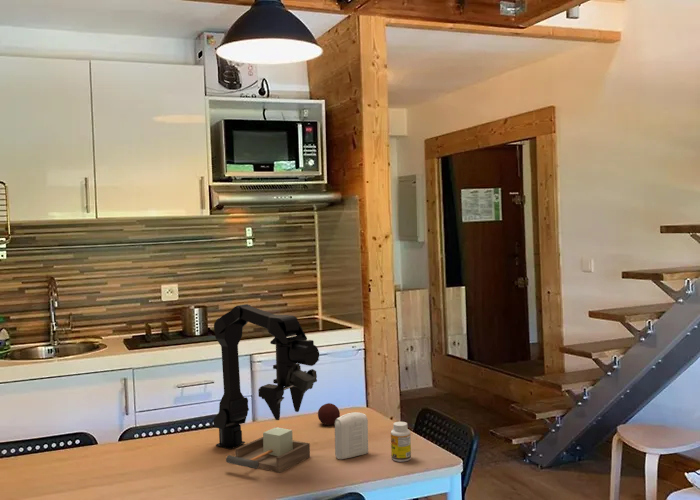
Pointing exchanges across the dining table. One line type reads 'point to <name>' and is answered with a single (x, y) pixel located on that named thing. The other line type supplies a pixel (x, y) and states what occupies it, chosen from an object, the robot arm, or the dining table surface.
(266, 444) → the corded block
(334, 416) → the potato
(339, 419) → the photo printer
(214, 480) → the dining table surface
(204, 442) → the dining table surface
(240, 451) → the brown wooden tray
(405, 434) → the supplement bottle
